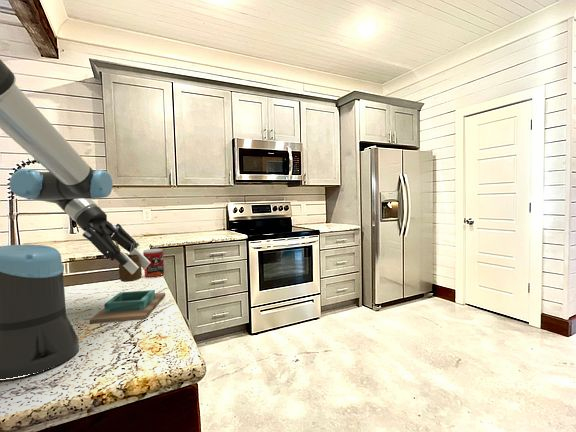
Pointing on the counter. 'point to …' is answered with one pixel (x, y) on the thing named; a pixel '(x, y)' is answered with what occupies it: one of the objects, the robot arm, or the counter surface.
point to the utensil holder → (124, 273)
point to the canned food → (154, 262)
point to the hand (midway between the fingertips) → (141, 268)
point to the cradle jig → (129, 306)
